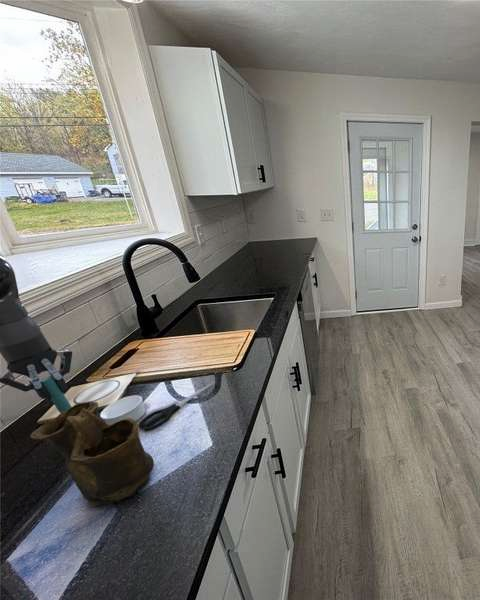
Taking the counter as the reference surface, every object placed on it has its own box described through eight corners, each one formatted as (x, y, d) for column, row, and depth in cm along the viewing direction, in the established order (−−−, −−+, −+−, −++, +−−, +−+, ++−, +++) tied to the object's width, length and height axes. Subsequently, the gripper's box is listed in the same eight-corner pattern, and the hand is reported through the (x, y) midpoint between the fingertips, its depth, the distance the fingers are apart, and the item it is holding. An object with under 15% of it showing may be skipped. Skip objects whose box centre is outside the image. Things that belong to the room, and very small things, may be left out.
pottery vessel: (184, 483, 66) (147, 410, 58) (126, 535, 57) (72, 458, 49) (120, 448, 76) (81, 382, 68) (62, 487, 67) (9, 417, 59)
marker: (59, 416, 82) (36, 382, 78) (64, 410, 85) (43, 377, 80) (70, 413, 83) (48, 380, 79) (75, 407, 85) (54, 375, 81)
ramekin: (104, 421, 85) (97, 408, 84) (143, 402, 91) (137, 390, 90) (110, 436, 80) (102, 423, 78) (151, 415, 86) (145, 403, 84)
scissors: (207, 380, 99) (135, 425, 83) (206, 378, 98) (134, 423, 82) (221, 385, 96) (149, 434, 80) (220, 383, 95) (147, 431, 79)
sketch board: (38, 424, 86) (36, 421, 86) (73, 389, 100) (71, 386, 100) (116, 405, 91) (114, 402, 91) (138, 374, 105) (137, 372, 105)
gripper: (50, 321, 82) (82, 375, 89) (-32, 349, 71) (12, 408, 77) (63, 326, 79) (95, 381, 85) (-22, 355, 67) (23, 417, 74)
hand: (55, 394), depth 81 cm, fingers closed on marker, 2 cm apart
